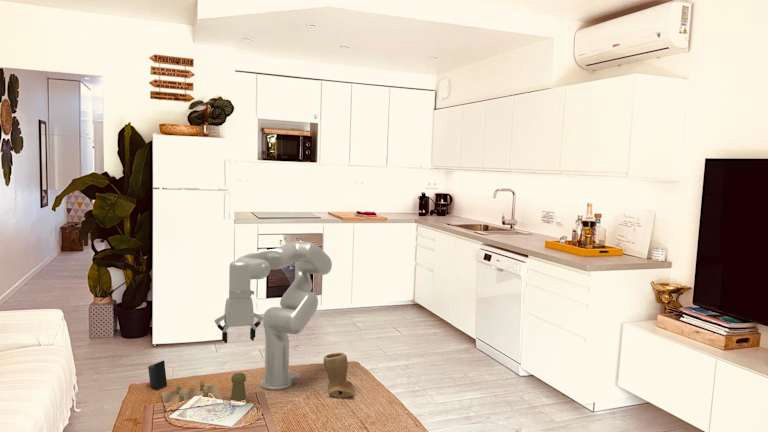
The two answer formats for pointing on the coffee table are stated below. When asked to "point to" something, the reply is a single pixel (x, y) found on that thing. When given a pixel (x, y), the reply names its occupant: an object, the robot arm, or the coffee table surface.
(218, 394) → the pin holder
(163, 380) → the speaker
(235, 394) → the cork
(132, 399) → the coffee table surface
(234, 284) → the robot arm
